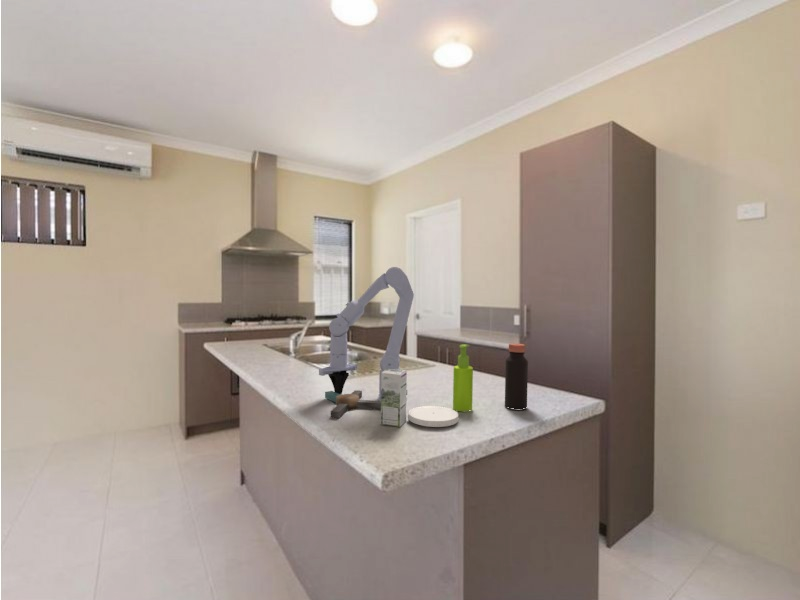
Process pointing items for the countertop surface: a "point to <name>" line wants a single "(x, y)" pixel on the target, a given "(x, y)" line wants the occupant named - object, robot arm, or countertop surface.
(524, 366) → the bottle
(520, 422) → the countertop surface
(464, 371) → the soap dispenser
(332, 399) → the teal rectangular block
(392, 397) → the syrup box
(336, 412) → the grey brown t-shaped piece
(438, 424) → the plastic lid
